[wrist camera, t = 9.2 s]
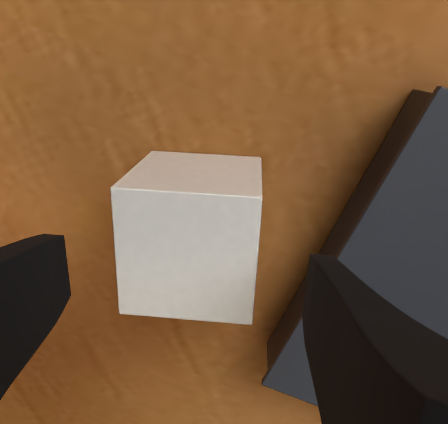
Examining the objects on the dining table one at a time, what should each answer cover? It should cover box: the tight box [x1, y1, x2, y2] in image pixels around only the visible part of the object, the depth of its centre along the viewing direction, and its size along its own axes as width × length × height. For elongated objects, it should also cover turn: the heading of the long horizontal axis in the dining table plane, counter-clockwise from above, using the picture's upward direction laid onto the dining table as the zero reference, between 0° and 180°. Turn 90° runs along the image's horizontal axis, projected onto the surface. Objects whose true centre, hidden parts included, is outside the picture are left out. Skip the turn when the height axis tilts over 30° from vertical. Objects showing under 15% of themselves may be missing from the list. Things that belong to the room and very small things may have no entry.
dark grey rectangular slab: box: [262, 86, 448, 406], centre depth 16 cm, size 13×10×2 cm
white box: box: [110, 151, 263, 325], centre depth 14 cm, size 4×4×5 cm
